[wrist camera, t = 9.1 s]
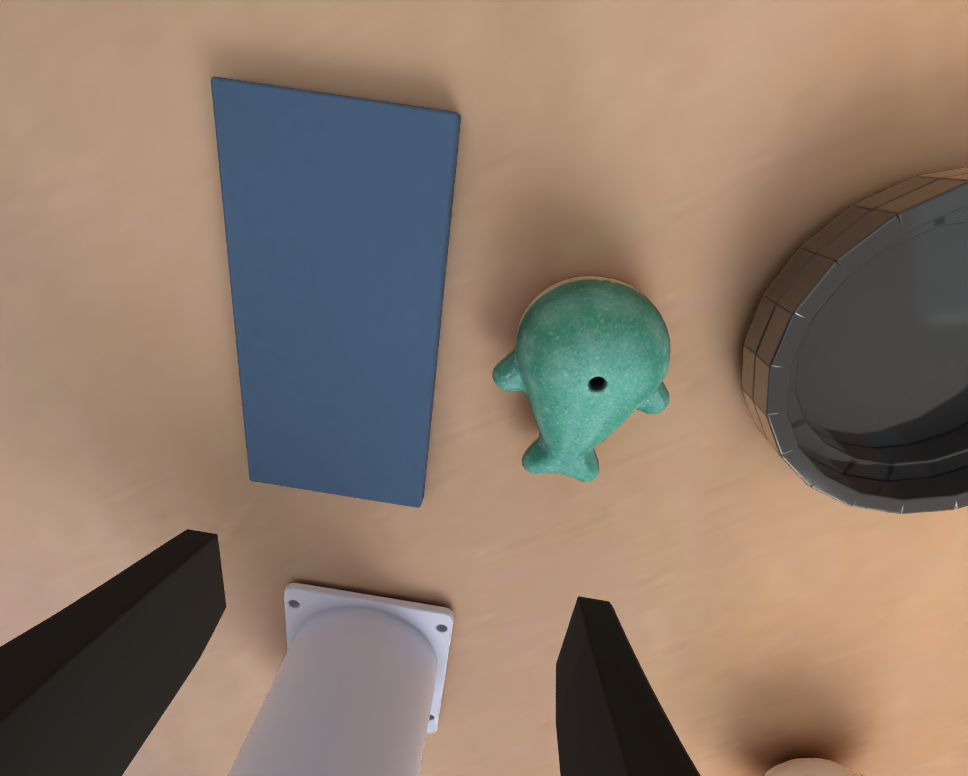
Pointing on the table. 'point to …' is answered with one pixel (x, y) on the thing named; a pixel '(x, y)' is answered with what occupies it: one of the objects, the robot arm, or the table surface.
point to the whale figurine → (585, 369)
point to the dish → (872, 351)
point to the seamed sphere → (810, 768)
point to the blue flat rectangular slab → (336, 282)
